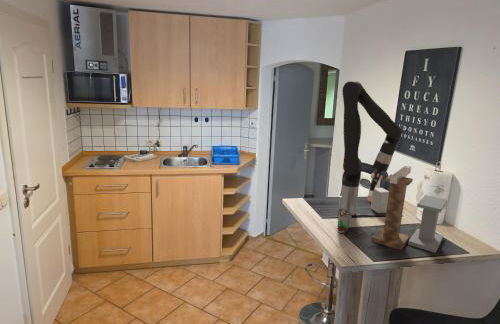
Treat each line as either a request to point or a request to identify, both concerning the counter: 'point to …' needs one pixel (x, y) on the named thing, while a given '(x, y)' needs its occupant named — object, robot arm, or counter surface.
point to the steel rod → (400, 174)
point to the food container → (343, 220)
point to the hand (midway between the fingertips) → (371, 188)
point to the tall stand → (394, 216)
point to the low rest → (428, 224)
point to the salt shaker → (375, 187)
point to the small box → (379, 200)
